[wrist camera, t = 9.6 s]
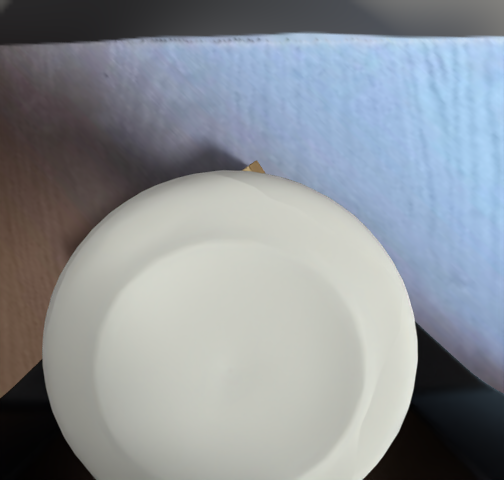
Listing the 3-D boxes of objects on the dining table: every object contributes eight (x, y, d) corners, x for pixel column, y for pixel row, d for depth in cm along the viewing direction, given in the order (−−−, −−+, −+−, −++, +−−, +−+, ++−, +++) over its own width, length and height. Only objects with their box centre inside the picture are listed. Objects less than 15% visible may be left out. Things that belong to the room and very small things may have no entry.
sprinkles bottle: (194, 238, 16) (-72, 339, 3) (252, 193, 16) (269, 64, 3) (240, 294, 16) (198, 630, 3) (297, 251, 16) (517, 407, 3)
